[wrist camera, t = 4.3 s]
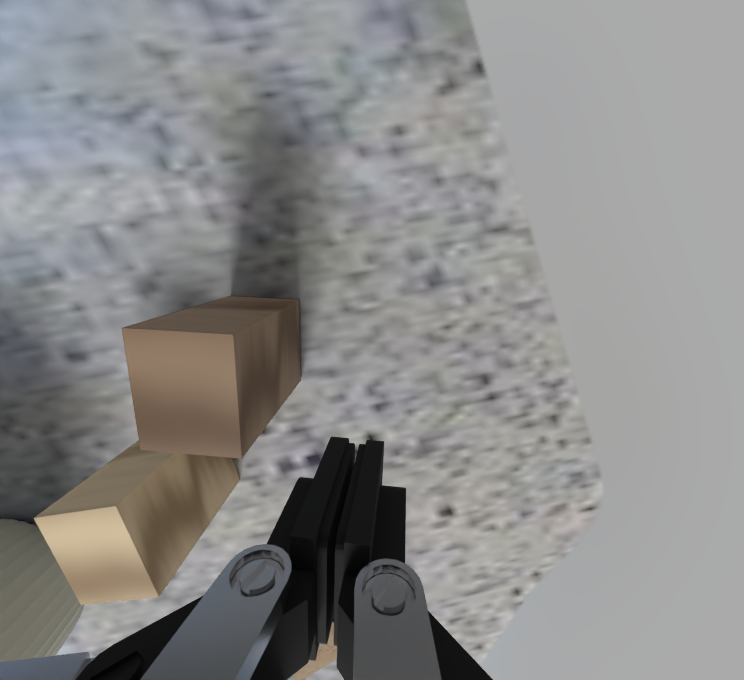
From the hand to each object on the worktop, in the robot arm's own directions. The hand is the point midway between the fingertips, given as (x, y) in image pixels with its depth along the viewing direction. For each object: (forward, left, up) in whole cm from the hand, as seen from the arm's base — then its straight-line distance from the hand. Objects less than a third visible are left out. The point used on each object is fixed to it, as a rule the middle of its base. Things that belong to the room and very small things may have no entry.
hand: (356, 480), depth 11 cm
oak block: (+10, -14, -15) cm, 23 cm away
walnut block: (0, -8, -15) cm, 17 cm away
